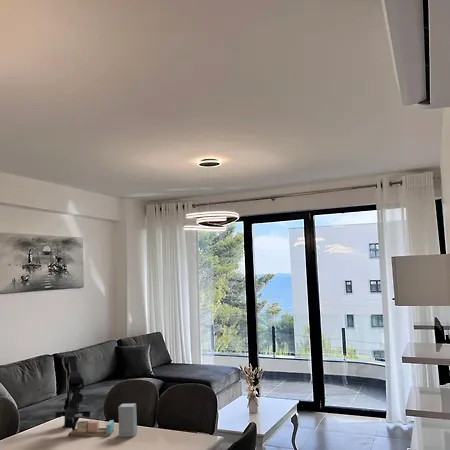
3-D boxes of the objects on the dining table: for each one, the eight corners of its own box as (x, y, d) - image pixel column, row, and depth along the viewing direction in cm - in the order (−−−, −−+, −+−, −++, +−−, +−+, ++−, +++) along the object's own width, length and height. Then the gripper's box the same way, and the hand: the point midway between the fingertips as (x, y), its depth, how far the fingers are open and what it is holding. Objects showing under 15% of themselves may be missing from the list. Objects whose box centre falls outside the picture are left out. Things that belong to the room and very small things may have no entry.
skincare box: (137, 433, 248) (137, 402, 250) (133, 437, 241) (133, 406, 243) (121, 433, 249) (122, 402, 251) (117, 437, 242) (118, 406, 244)
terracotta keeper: (89, 430, 250) (89, 420, 251) (98, 429, 251) (99, 420, 251) (87, 432, 246) (87, 422, 247) (96, 432, 246) (97, 422, 247)
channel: (73, 431, 252) (73, 428, 252) (113, 430, 253) (113, 427, 253) (68, 437, 243) (68, 433, 244) (110, 436, 244) (110, 432, 244)
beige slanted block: (79, 430, 250) (79, 420, 251) (88, 430, 250) (88, 420, 251) (76, 432, 246) (77, 423, 247) (86, 432, 246) (86, 422, 247)
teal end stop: (109, 428, 253) (110, 420, 254) (113, 428, 253) (113, 420, 254) (106, 433, 244) (106, 425, 245) (110, 433, 244) (110, 425, 245)
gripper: (52, 403, 242) (50, 434, 240) (87, 403, 242) (86, 434, 240) (59, 398, 253) (57, 428, 251) (93, 398, 253) (92, 427, 251)
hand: (73, 429), depth 248 cm, fingers closed
